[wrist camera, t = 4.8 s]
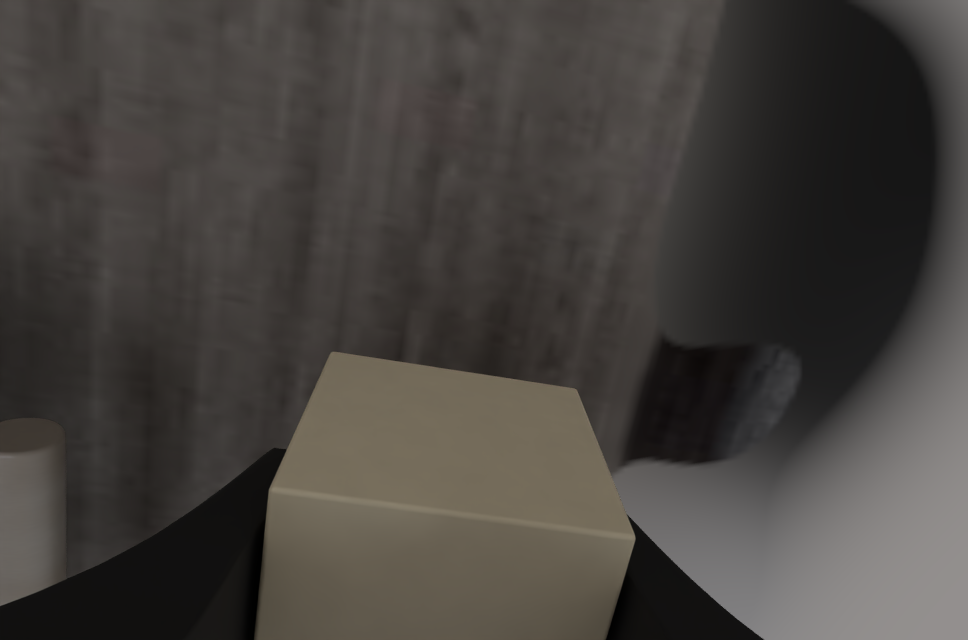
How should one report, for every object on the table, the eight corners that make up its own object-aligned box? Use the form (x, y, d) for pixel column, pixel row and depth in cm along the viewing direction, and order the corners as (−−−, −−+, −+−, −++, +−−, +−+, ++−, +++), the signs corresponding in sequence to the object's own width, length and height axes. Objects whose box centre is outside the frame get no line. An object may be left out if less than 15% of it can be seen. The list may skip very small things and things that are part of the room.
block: (577, 387, 13) (638, 537, 9) (527, 588, 14) (560, 802, 10) (330, 349, 13) (268, 488, 8) (304, 560, 14) (239, 772, 10)
